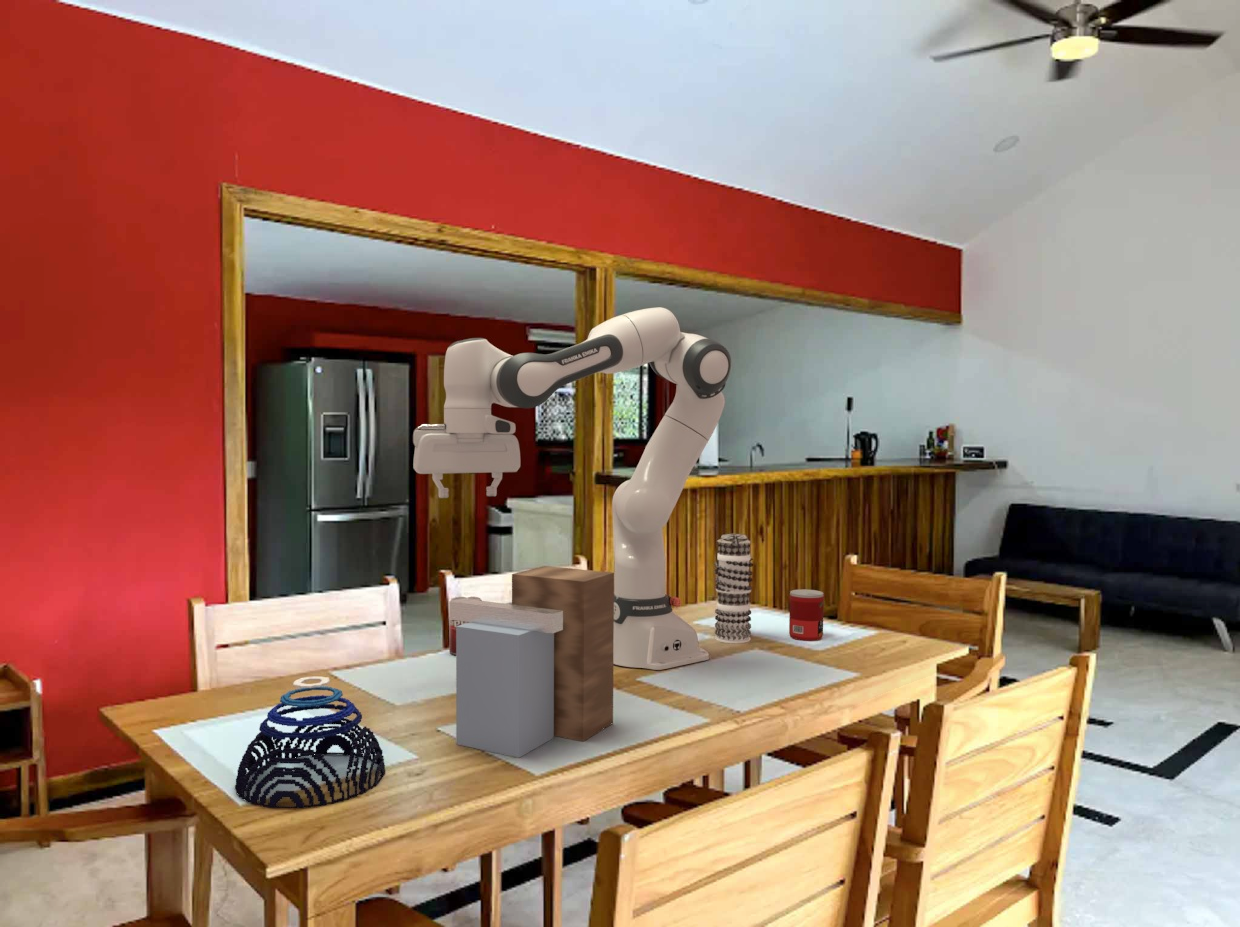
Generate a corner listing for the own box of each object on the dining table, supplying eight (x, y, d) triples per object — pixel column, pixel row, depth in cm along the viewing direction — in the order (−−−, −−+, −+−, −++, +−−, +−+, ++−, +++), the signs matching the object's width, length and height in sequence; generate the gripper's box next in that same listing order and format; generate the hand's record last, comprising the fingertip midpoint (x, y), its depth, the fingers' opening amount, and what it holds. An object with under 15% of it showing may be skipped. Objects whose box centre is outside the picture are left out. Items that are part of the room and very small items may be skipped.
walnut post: (511, 727, 153) (511, 574, 152) (544, 710, 162) (544, 565, 161) (583, 741, 146) (584, 581, 145) (612, 723, 155) (613, 572, 154)
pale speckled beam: (449, 619, 149) (449, 601, 149) (460, 616, 152) (460, 598, 151) (552, 633, 140) (552, 614, 139) (562, 629, 142) (563, 610, 142)
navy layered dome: (271, 753, 141) (270, 661, 140) (399, 755, 140) (399, 663, 140) (210, 807, 121) (208, 701, 120) (359, 810, 121) (358, 703, 120)
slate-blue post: (456, 744, 145) (456, 626, 144) (493, 725, 154) (493, 614, 153) (518, 757, 139) (518, 635, 138) (553, 738, 148) (554, 622, 147)
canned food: (826, 641, 215) (826, 595, 214) (792, 641, 215) (792, 595, 214) (819, 633, 222) (820, 589, 222) (786, 633, 222) (787, 589, 222)
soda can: (475, 657, 198) (475, 603, 197) (444, 655, 199) (444, 601, 199) (487, 649, 205) (487, 596, 204) (456, 647, 206) (456, 595, 206)
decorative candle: (759, 638, 217) (761, 534, 216) (738, 645, 210) (740, 538, 208) (727, 632, 223) (729, 531, 221) (705, 639, 216) (707, 534, 214)
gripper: (417, 423, 164) (417, 500, 165) (523, 424, 174) (523, 496, 174) (408, 423, 170) (409, 497, 171) (512, 424, 179) (512, 494, 180)
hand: (467, 496), depth 173 cm, fingers open, 8 cm apart
